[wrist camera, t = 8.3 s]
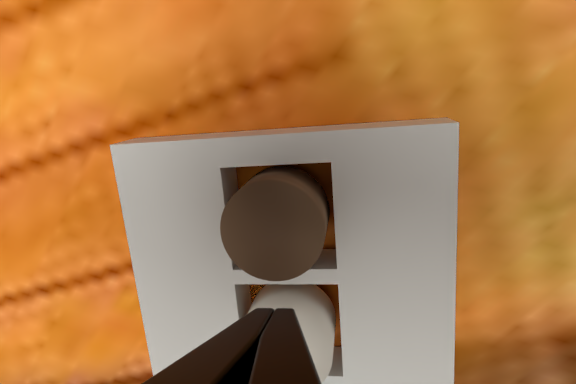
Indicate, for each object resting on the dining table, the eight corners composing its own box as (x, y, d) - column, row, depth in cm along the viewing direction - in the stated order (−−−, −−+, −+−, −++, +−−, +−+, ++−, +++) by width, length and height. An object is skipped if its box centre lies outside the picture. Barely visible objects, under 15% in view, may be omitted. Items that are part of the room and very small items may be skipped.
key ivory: (333, 277, 21) (329, 309, 18) (338, 354, 23) (335, 397, 20) (247, 277, 22) (230, 309, 19) (256, 352, 23) (240, 393, 20)
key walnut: (326, 163, 20) (321, 178, 17) (332, 252, 21) (327, 281, 18) (235, 168, 21) (213, 183, 18) (244, 253, 22) (226, 281, 19)
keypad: (446, 117, 20) (459, 122, 17) (442, 458, 25) (451, 498, 22) (135, 138, 22) (109, 145, 20) (188, 440, 27) (171, 474, 25)
